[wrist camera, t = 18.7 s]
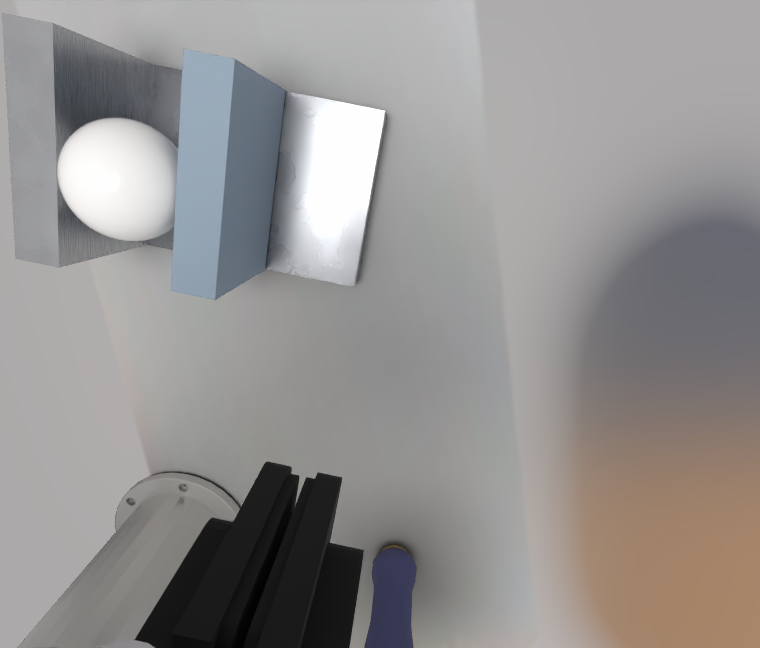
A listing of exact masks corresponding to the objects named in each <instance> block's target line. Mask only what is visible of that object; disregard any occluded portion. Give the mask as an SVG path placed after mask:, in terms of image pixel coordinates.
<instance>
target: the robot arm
mask: <svg viewBox="0 0 760 648" xmlns="http://www.w3.org/2000/svg"><path fill="white" fill-rule="evenodd" d="M291 471H292V468H291V467H290V466H286V465H281V464H276V463H272V462H266V463H265V464H264V466H263V467H262V469H261V471H260V473H259V475H258V477H257V479H256V480H255V482H254V484H253V486H252V488H251V490H250V492H249V493H248V495H247V497H246V499H245V501H244V503H243V505H242V506H241V508H239V507H238V506H237V504H236V503H235V502H234V501H233V499H232V498H231V497H230V496H228V495H227V494H226V493H225V492H224V491H223V490H222V489H220V488H218V487H217V486H215V485H214V484H212V483H210V482H208V481H206V480H204V479H201V478H199V477H196V476H192V475H188V474H182V473H161V474H157V475H153V476H149V477H147V478H145V479H143V480H141V481H140V482H138V483H137V484H136V485H135V486H133V487H132V488H131V489H130V490H129V491H128V492H127V494H125V496H124V497H123V498H122V500H121V502H120V504H119V505H118V508H117V512H116V516H115V528H116V533H115V534H114V535H113V536H112V537H111V539H110V540H109V541H108V542H107V543H106V544H105V546H104V547H103V548H102V549H101V550H100V551H99V553H98V554H97V555H96V556H95V557H94V558H93V560H92V561H91V562H90V563H89V564H88V565H87V567H86V568H85V569H84V570H83V571H82V573H81V574H80V575H79V576H78V577H77V578H76V579H75V581H74V582H73V583H72V584H71V585H70V587H69V588H68V589H67V590H66V591H65V593H64V594H63V595H62V596H61V597H60V598H59V600H58V601H57V602H56V603H55V604H54V605H53V606H52V608H51V609H50V610H49V611H48V612H47V614H46V615H45V616H44V617H43V618H42V619H41V621H40V622H39V623H38V624H37V625H36V626H35V628H34V629H33V630H32V631H31V632H30V633H29V635H28V636H27V637H26V638H25V639H24V641H23V642H22V643H21V644H20V645H19V646H18V647H17V648H349V646H350V640H351V633H352V627H353V620H354V613H355V607H356V600H357V593H358V587H359V580H360V573H361V567H362V560H363V552H364V550H360V549H355V548H351V547H346V546H342V545H337V544H332V543H330V539H331V534H332V529H333V523H334V518H335V513H336V508H337V503H338V498H339V493H340V488H341V482H342V477H337V476H332V475H328V474H323V473H317V476H316V478H315V479H313V478H308V477H307V478H306V479H305V482H304V485H303V487H302V490H301V493H300V495H299V498H298V501H297V503H296V506H295V502H296V496H297V490H298V483H299V475H294V474H291Z"/></svg>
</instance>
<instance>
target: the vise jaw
mask: <svg viewBox="0 0 760 648" xmlns="http://www.w3.org/2000/svg"><path fill="white" fill-rule="evenodd" d="M285 92H286V91H285V90H284V89H282V88H281V87H279V86H277V85H276V84H274V83H273V82H271V81H269V80H268V79H266V78H264V77H263V76H261V75H260V74H258V73H256V72H255V71H253V70H252V69H250V68H248V67H247V66H245V65H244V64H242V63H240V62H239V61H237V60H236V59H233V58H228V57H222V56H217V55H212V54H207V53H202V52H197V51H192V50H187V49H183V65H182V84H181V104H180V124H179V143H178V163H177V183H176V202H175V222H174V242H173V261H172V281H171V291H174V292H179V293H184V294H189V295H193V296H198V297H203V298H208V299H213V300H216V299H217V298H219V297H221V296H222V295H224V294H226V293H227V292H229V291H231V290H232V289H234V288H236V287H237V286H239V285H240V284H242V283H244V282H245V281H247V280H249V279H250V278H252V277H254V276H255V275H257V274H259V273H260V272H262V271H263V270H265V266H266V257H267V249H268V240H269V231H270V223H271V214H272V205H273V196H274V188H275V179H276V170H277V161H278V153H279V144H280V135H281V127H282V118H283V109H284V100H285Z"/></svg>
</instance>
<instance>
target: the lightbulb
mask: <svg viewBox="0 0 760 648" xmlns="http://www.w3.org/2000/svg"><path fill="white" fill-rule="evenodd" d="M177 163H178V148H177V147H176V146H175V145H174V144H173V142H172V141H171V140H170V139H168V138H167V137H166V136H165V135H164V134H162V133H161V132H160V131H158V130H157V129H155V128H153V127H151V126H149V125H147V124H145V123H142V122H139V121H136V120H132V119H127V118H117V117H114V118H103V119H98V120H95V121H92V122H89V123H87V124H85V125H83V126H82V127H80V128H79V129H77V130H76V131H75V132H74V133H73V134H72V135H71V136H70V137H69V138H68V139H67V141H66V142H65V144H64V145H63V147H62V150H61V152H60V155H59V158H58V164H57V177H58V183H59V187H60V190H61V193H62V195H63V198H64V200H65V201H66V203H67V205H68V206H69V208H70V209H71V210H72V212H73V213H74V214H75V215H76V216H77V217H78V218H79V219H80V220H81V221H82V222H83V223H84V224H86V225H87V226H88V227H90V228H91V229H93V230H95V231H96V232H98V233H100V234H103V235H105V236H108V237H110V238H114V239H118V240H124V241H144V240H149V239H153V238H156V237H159V236H161V235H163V234H165V233H167V232H168V231H170V230H171V229H172V228H174V222H175V202H176V183H177Z"/></svg>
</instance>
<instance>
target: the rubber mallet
mask: <svg viewBox="0 0 760 648" xmlns="http://www.w3.org/2000/svg"><path fill="white" fill-rule="evenodd" d="M372 578H373V584H374V595H373V605H372V614H371V622H370V626H369V630H368V634H367V638H366V642H365V647H364V648H413V639H412V631H411V608H412V590H413V586H414V583H415V578H416V565H415V562H414V560H413V558H412V557H411V556H410V555H409V553H408V551H407V550H405V549H404V548H403V547H401V546H397V545H390V546H386V547H385V548H383V549H382V550H381V552H380V553H379V554H378V555H377V557H376V558H375V559H374V561H373V569H372Z"/></svg>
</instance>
